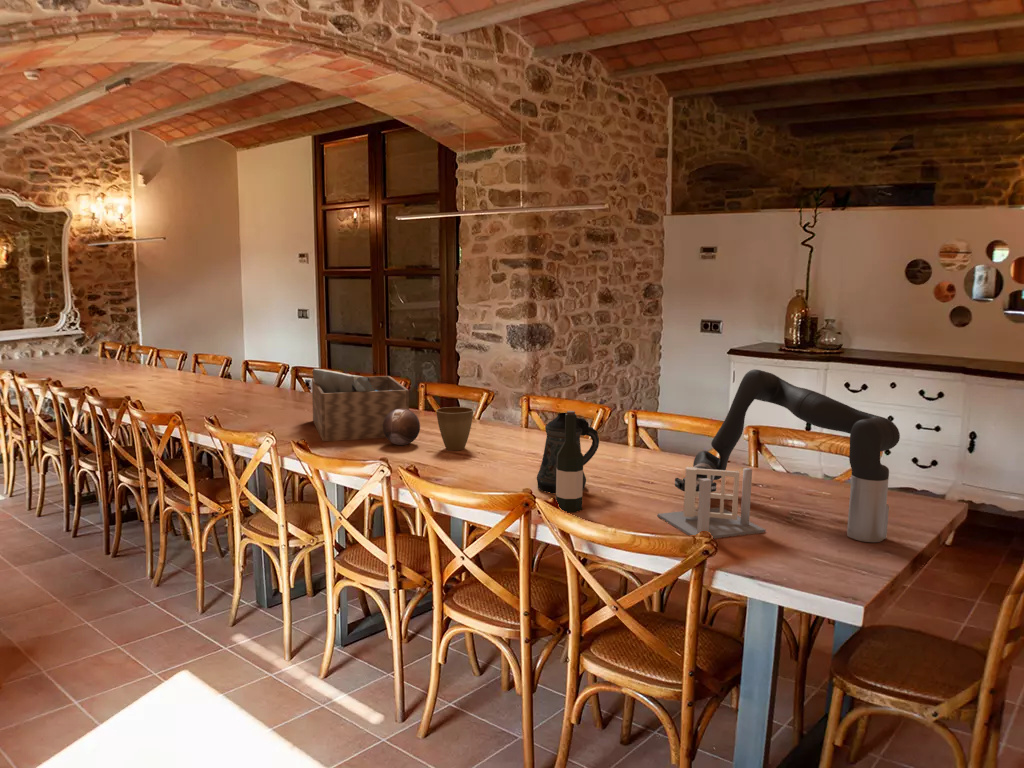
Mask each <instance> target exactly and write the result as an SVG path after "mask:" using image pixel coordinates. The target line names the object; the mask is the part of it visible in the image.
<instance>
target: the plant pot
mask: <svg viewBox="0 0 1024 768" xmlns="http://www.w3.org/2000/svg"><path fill="white" fill-rule="evenodd" d="M435 411H436V412H435V413H436V419H437V423H438V428H439V431H440V435H441V438H442V441H443V444H444V447H445V450H447V451H452V452H453V451H456V452H457V451H463V450H465V448H466V445H467V444H468V443H467V442H468V439H469V436H470V432H471V428H472V424H473V417H474V409H473V408H471V407H464V406H449V407H448V406H447V407H440V408H437V409H436V410H435Z"/></svg>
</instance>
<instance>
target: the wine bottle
mask: <svg viewBox="0 0 1024 768" xmlns="http://www.w3.org/2000/svg"><path fill="white" fill-rule="evenodd" d="M566 413H567V414H565V442H564V443H563V445H562V446H561V448H560V450H559V451H558V453H557V469H556V494H555V501H556V500H557V502H558V504H559V507H560V508H561V509H562V510H564V511H567V512H566V513H578V512H580V510H581V511H583V491H584V490H583V472H584V466H583V456H584V455H583V453H582V450H581V451H580V449H579V447H578V445H577V443H576V417H577V414H576V411H574V410H567V411H566ZM577 511H578V512H577Z"/></svg>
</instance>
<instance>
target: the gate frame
mask: <svg viewBox="0 0 1024 768" xmlns="http://www.w3.org/2000/svg"><path fill="white" fill-rule="evenodd" d="M752 479H753V469H752V468H749V467H743V469H742V488H741V506H740V515H738V514H737V520H732V519H723V518H712V517H710V512H716V513H720V506H719V507H711V499H712V498H711V493H712V492H711V480H710V479H708V478H704V479H700V483H699V497H698V503H697V504H698V506H697V508H698V509H695V511H698V516H694V517H684V510H683V511H682V510H681V511H673V512H672V511H671V512H663V513H657V516H658V517H657V518H659V517H660V518H659V519H661V520H662V519H663V520H662V521H664V520H665V521H664V522H666V523H667V522H668V524H669V525H670V526H672V527H674V528H676V529H677V530H679V531H680V532H681V533H684V534H686V535H687V536H689V535H696V534H698V533H699V532H701V531H708V532H710V533H711V535H712V536H713V538H714V539H721V538H722V537H723V538H729V536H731V537H738V536H737V535H740V536H747V535H746V534H748V535H755V533H756V534H764V533H763V532H765V533H766V529H765V528H764V527H762V526H759V525H757V524H755V523H754V522H752V521H750V514H751V501H752V499H751V497H752ZM723 513H727V514H732V511H729V510H727V509H726V508H724V510H723Z"/></svg>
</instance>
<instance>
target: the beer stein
mask: <svg viewBox="0 0 1024 768" xmlns="http://www.w3.org/2000/svg"><path fill="white" fill-rule="evenodd" d="M565 414H567V412H559V413H558V414H557V416H556V417H555V418H553V419H552V420H551V421H549V422H547V424H546V425H545V427H544V429H545V433H546V439H545V444H544V450H543V455H542V461H541V465H540V467H539V471H538V473H537V475H536V481H537V482H536V483H537V488H538V489H539V491H541V492H544V491H546V492H545V493H548V492H550V493H549V494H553V493H556V469H557V453H558V451H559V450H560V448H561V446H562V445H563V443H564V442H565ZM581 436H583V437H584V436H589V437H590V438H591V441H592V442H591V446H590V447H589V449H588V450H587V452H585V453H584V455H583V467H584V466H585V465H586V464H587V463H589V462H590V460H591V459H592V458H593V457H594V456H595V454H596V453H597V451H598V449H599V446H600V445H599V444H600V437H599V432H598V431H597V430H596V429H595V428H593V427H591V426H590V424H589V422H588V421H587V420H586V419H585V418H582V417H577V416H576V443H577V445H578V447H579V449H580V451H581V452H582V447H581ZM586 483H587V477H586V475H585V472H584V471H583V491H584V490H585V487H586Z"/></svg>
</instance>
